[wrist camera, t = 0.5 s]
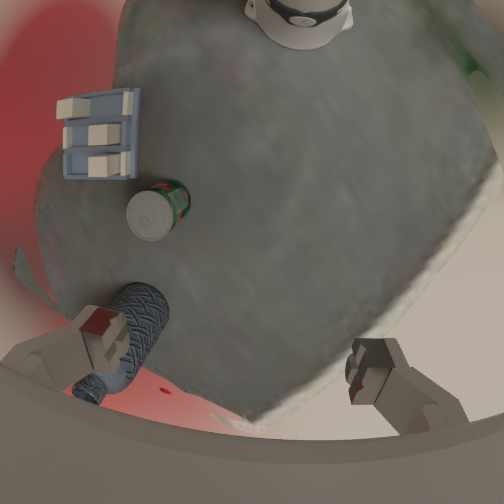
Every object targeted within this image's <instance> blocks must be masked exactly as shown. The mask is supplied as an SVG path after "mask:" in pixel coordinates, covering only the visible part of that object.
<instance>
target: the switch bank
mask: <svg viewBox="0 0 504 504" xmlns="http://www.w3.org/2000/svg"><path fill="white" fill-rule="evenodd" d="M141 89H142V88H132V87H126V88H117V89H109V90H102V91H95V92H88V93H82V94H77V95H72V96H67V97H66V99H69V98H82V99H91V106H90V117H83V118H75V119H63V121H65V123H64V125H65V126H64V127H63V149H64V154H63V176H65V179H108V180H127V179H130V178H133V179H135V178H138V136H139V116H140V102H141ZM102 124H122V126H121V143H116V144H108V145H91V146H88V131H89V126H91V125H102ZM110 153H121V173H118V174H114V175H111V176H108V177H88V157H91V156H96V155H101V154H110Z"/></svg>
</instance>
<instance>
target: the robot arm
mask: <svg viewBox="0 0 504 504" xmlns="http://www.w3.org/2000/svg"><path fill="white" fill-rule="evenodd" d="M252 5H253V7H251V6H252ZM245 15H246V16H247V17H248V18H250V19H251V20H253V21H255V22H256V23H257V24H258V25H259V26H260V27H261V29H262V30H263V32H264V33H265V34H266V35H267V36H268V37H269V38H270V39H272V40H273V41H274V42H276V43H278V44H280V45H282V46H285V47H288V48H291V49H297V50H310V49H315V48H319V47H321V46H324V45H326V44H327V43H329V42H330V41H331V40H332V39H333V38H334V37H335V36H336V35H337V34H339V33H340V32H343V31H346V30H349V29H351V28H352V26H353V18H352V13H351V7H350V4H349V0H248V2H247V4H246V7H245ZM126 322H127V319H126V314H125V313H124V312H122V311H117V310H112V309H108V308H104V307H99V306H94V305H87V306H86V307H85V308H84V309H83V310H82V311H81V312H80V313H79V314H78V315H77V317H76V318H75V319H74V320H73V321H72V322H71V323H70V324H69V325H68V326H67V327H61V328H58V329H56V330H53V331H51V332H48V333H45V334H43V335H40V336H38V337H35V338H32V339H30V340H27V341H25V342H22V343H20V344H17V345H15V346H14V347H13V348H12V349H11V350H10V351H9V352H8V353H7V355H6V356H5V357H4V358H3V359H2V360H1V361H0V504H504V413H501V414H498V415H495V416H492V417H488V418H485V419H481V420H477V421H473V422H469V420H468V418H467V416H466V414H465V412H464V410H463V408H462V406H461V404H460V402H459V400H458V399H457V398H456V397H454V396H453V395H451V394H450V393H449V392H447V391H446V390H444V389H443V388H442V387H440V386H439V385H437V384H436V383H435V382H433V381H432V380H430V379H429V378H428V377H426V376H425V375H423V374H422V373H420V372H419V371H418V370H416V369H415V368H414V367H409V365H408V363H407V361H406V358H405V357H404V354H403V352H402V350H401V348H400V346H399V344H398V342H397V340H396V339H395V338H382V339H371V338H356V339H355V340H354V342H353V344H352V350H353V353H352V354H351V355H350V356H348V359H347V362H346V368H345V376H346V381H347V383H349V384H350V385H351V386H350V388H349V396H350V400H351V404H352V405H374V407H375V408H376V409H377V410H378V411H379V412H380V413H381V414H382V415H383V417H384V418H385V419H386V420H387V421H388V422H389V423H390V424H391V425H392V426H393V427H394V429H396V431H397V432H398V433H399V434H400V435H399V436H390V437H381V438H370V439H353V440H315V441H314V440H311V441H310V440H282V439H265V438H254V437H244V436H235V435H227V434H220V433H213V432H206V431H200V430H194V429H189V428H184V427H179V426H174V425H169V424H165V423H160V422H156V421H151V420H147V419H144V418H140V417H136V416H132V415H129V414H125V413H122V412H118V411H115V410H112V409H108V408H105V407H102V406H99V405H96V404H93V403H90V402H87V401H85V400H82V399H79V398H76V397H74V396H71V395H68V394H66V393H63V392H62V391H63V390H65V389H66V388H68V387H69V386H71V385H73V384H74V383H76V382H77V381H79V380H81V379H82V378H84V377H85V376H87V375H88V374H90V373H92V372H93V370H95V371H99V372H103V373H107V374H111V375H114V373H115V371H116V370H117V368H118V366H119V365H120V360H119V358H121V357H123V356H125V355H126V353H127V351H128V348H129V344H130V335H129V331H128V330H127V329H126V327H125V326H124V325H125V324H126Z"/></svg>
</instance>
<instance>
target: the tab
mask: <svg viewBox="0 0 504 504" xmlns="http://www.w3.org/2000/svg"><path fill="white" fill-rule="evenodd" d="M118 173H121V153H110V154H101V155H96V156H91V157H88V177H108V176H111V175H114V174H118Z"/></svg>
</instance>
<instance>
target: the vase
mask: <svg viewBox="0 0 504 504" xmlns="http://www.w3.org/2000/svg"><path fill="white" fill-rule="evenodd" d="M108 309H112V310H117V311H122V312H124V313H125V314H126V319H127V322H126V324H125V325H124V326H125V327H126V329H127V330H128V331H129V335H130V344H129V348H128V351H127V353H126V355H125V356H123V357H121V358H119V360H120V365H119V366H118V368H117V370H116V371H115V373H114V375H111V374H107V373H103V372H99V371H95V370H93V372H92V373H90V374H88V375H87V376H85V377H84V378H82V379H81V380H79V381H77V382H76V383H75V384H74V386H73V387H72V393H73V395H74V397H76V398H79V399H82V400H85V401H87V402H90V403H93V404H96V405H99V406H100V404H101V402H102V400H103V398H104V397H105V395H106V394H116V393H118V392H121V391H123V390H124V389H125V388H126V387H128V386H129V384H130V383H131V382H132V381H133V379H134V378H135V376H136V375H137V373H138V371H139V369H140V368H141V366H142V364H143V363H144V361H145V359H146V357H147V356H148V354H149V352H150V351H151V349H152V347H153V346H154V344H155V342H156V341H157V339H158V337H159V336H160V334H161V332H162V331H163V329H164V327H165V325H166V324H167V322H168V319H169V307H168V304H167V302H166V300H165V298H164V297H163V296H162V294H161V293H160V292H159V291H157V290H156V289H155V288H153V287H151V286H149V285H146V284H142V283H134V284H131V285H129V286H127V287H125V288H124V289H123V290H122V291H121V292H120V293H119V295H118V296H117V297H116V299H115V300H114V301H113V303H112V304H111V305H110V306H109V308H108Z"/></svg>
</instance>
